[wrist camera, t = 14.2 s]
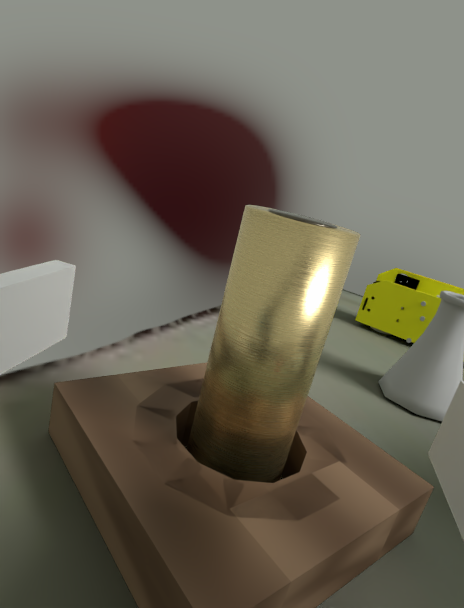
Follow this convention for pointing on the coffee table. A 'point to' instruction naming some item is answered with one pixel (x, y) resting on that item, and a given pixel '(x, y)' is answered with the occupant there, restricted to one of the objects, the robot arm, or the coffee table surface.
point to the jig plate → (226, 498)
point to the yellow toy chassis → (402, 303)
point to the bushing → (268, 341)
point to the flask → (431, 363)
